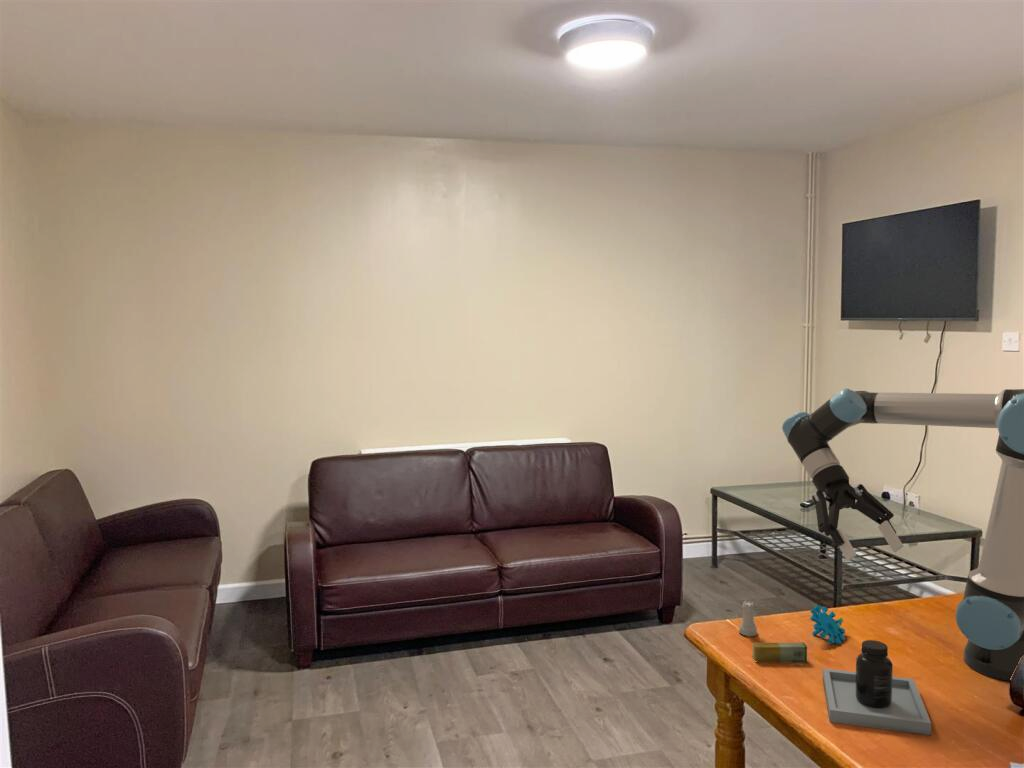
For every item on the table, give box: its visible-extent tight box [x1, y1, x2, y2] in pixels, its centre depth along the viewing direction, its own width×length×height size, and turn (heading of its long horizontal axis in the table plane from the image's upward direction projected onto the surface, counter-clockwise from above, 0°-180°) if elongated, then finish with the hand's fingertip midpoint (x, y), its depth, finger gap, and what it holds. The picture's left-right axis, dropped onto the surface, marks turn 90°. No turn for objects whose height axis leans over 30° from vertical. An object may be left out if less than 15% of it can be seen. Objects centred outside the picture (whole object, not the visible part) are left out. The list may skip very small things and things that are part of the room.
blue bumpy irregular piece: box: [809, 604, 846, 646], centre depth 193 cm, size 11×6×10 cm
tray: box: [822, 668, 932, 736], centre depth 161 cm, size 18×18×2 cm
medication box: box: [751, 642, 808, 664], centre depth 182 cm, size 12×3×4 cm, turn 87°
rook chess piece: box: [738, 600, 758, 637], centre depth 196 cm, size 4×4×8 cm
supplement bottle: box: [855, 639, 894, 708], centre depth 161 cm, size 7×7×12 cm
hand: (876, 553), depth 171 cm, fingers open, 13 cm apart
